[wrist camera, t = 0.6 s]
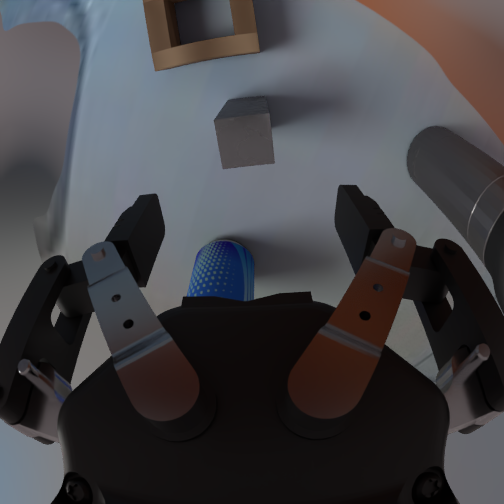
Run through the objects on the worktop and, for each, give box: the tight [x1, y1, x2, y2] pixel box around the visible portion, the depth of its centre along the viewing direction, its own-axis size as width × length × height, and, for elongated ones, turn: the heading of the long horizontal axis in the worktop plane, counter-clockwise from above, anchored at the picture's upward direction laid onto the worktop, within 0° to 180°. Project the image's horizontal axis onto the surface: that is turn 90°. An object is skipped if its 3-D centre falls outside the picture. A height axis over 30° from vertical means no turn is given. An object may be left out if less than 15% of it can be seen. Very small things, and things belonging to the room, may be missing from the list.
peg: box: [214, 96, 275, 169], centre depth 24 cm, size 4×4×11 cm
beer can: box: [187, 240, 254, 301], centre depth 35 cm, size 8×8×16 cm
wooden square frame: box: [143, 0, 260, 71], centre depth 19 cm, size 10×10×4 cm
